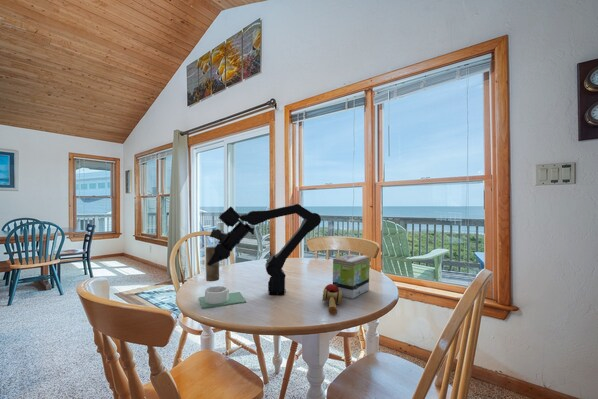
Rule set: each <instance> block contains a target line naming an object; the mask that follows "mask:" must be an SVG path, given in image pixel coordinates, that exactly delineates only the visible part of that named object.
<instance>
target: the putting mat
mask: <svg viewBox="0 0 598 399" xmlns="http://www.w3.org/2000/svg"><path fill="white" fill-rule="evenodd" d="M229 290H230V289H229V287H228V286H225V285H216V286H211V287H207V288H206V289H205V290H204V296H198V297H199V298H198V299H199V302H200V307H201V309H208V308H214V307H215V308H217V307H223V306H224V307H225V306H229V305H237V304H243V303H247V300H246V299H245V297H244V296H243V295H242V293H241V292H240V291H235V292H230V291H229Z"/></svg>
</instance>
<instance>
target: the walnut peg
mask: <svg viewBox="0 0 598 399" xmlns="http://www.w3.org/2000/svg"><path fill="white" fill-rule="evenodd" d="M216 246H217V245H215V246H211V245H210V246H206V247H205V281H206V282H217V281H219V280H220V261H219V262H217V263H214V264H212V265H210V266H209V265H207V263H208V262H209V261H210V259H211V258H212V256H213V255H214V253H215V252H214V248H215V247H216Z"/></svg>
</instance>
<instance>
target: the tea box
mask: <svg viewBox="0 0 598 399" xmlns="http://www.w3.org/2000/svg"><path fill="white" fill-rule="evenodd" d="M332 284H334V285H336V286H337V287H338V289H339V291H342V297H343V298H347V299H352V300H353V299H355V298H357V297H358V296H360V295H362V294H363V293H366V292H368V291H369V290H370V256H367V255H358V254H351V253H349V254H345V255H342V256H338V257H334V258H333V259H332ZM367 290H368V291H367Z"/></svg>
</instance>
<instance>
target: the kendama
mask: <svg viewBox="0 0 598 399" xmlns="http://www.w3.org/2000/svg"><path fill="white" fill-rule="evenodd" d="M321 301H322V302H327V301H328V314H329V315H333V316H334V315H336V314H337V313H338V308H337V305H341V303H342V291H339V289H338V287H337V286H336V285H334V284H333V283H329V284H327V285H326V286H325V287H324V289H323V292H322V300H321Z"/></svg>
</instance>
